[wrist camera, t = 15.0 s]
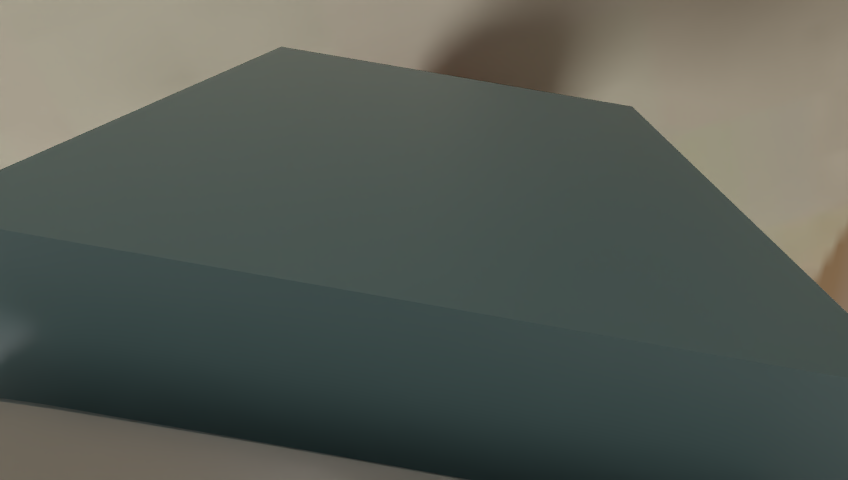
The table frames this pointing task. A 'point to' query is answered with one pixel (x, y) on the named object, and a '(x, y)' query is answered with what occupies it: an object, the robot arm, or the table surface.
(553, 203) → the matte blue-grey box
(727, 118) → the table surface
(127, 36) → the table surface
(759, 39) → the table surface
